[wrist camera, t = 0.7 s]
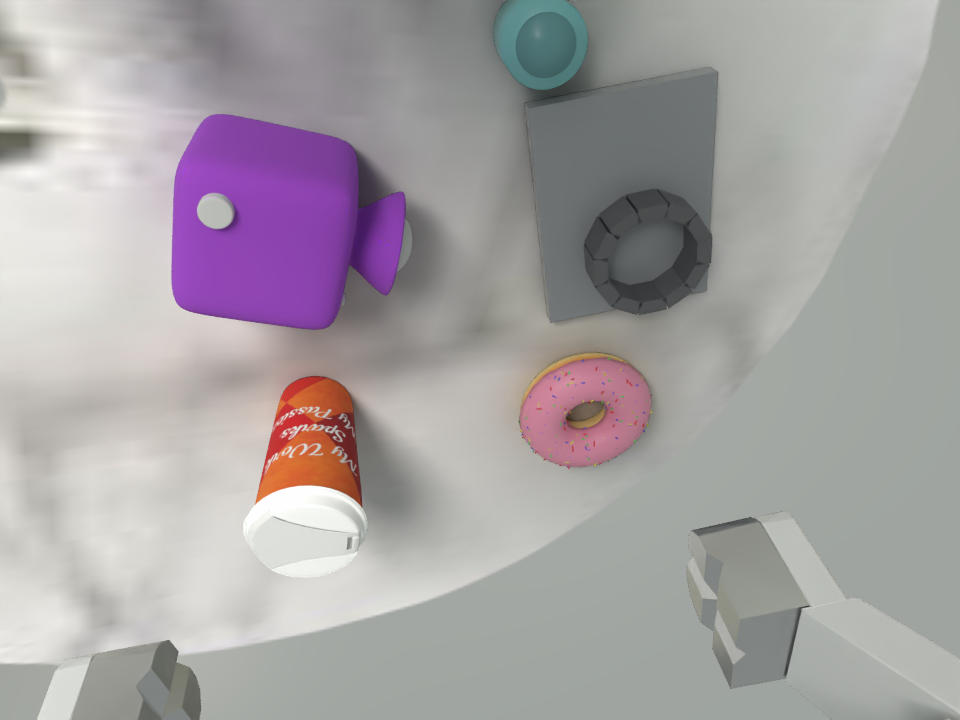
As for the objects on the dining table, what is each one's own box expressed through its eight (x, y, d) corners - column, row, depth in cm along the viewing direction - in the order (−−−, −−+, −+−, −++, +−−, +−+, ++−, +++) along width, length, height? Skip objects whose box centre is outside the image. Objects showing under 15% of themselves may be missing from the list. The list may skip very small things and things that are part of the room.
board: (524, 103, 45) (527, 108, 44) (710, 66, 45) (718, 71, 44) (546, 314, 54) (550, 322, 53) (700, 283, 55) (706, 291, 54)
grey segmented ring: (580, 203, 48) (590, 218, 46) (699, 179, 48) (714, 194, 46) (587, 305, 53) (596, 323, 51) (695, 283, 53) (708, 300, 51)
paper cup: (369, 367, 55) (373, 502, 44) (361, 442, 59) (363, 582, 48) (264, 361, 53) (239, 500, 42) (263, 438, 57) (241, 583, 46)
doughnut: (669, 376, 60) (687, 407, 57) (586, 461, 65) (598, 495, 61) (571, 321, 55) (584, 352, 52) (488, 417, 60) (496, 451, 56)
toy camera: (407, 267, 50) (417, 347, 42) (204, 267, 48) (174, 352, 40) (409, 111, 44) (421, 172, 36) (176, 104, 42) (134, 166, 34)
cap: (488, -6, 41) (498, 7, 38) (569, -21, 41) (586, -10, 38) (498, 80, 44) (509, 98, 41) (575, 65, 44) (591, 82, 41)
